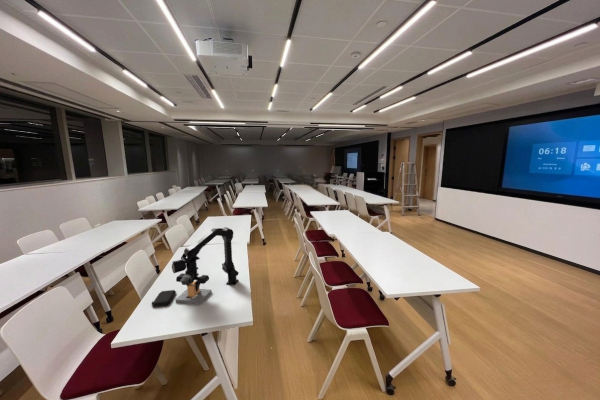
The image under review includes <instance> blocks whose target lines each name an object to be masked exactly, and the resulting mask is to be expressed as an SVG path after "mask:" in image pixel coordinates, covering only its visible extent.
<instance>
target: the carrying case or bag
mask: <svg viewBox="0 0 600 400" xmlns="http://www.w3.org/2000/svg"><path fill="white" fill-rule="evenodd" d="M176 293H177V291H176V290H175V289H170V290H162V291H160V292H159V293H158V295H157V296H156V297H155V299H154V300H153V301H151V306H152V307H154V308H159V307H166V306H169V305H170V304H171V302H172V301H173V299H174V297H175V295H176Z"/></svg>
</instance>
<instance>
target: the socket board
mask: <svg viewBox="0 0 600 400" xmlns="http://www.w3.org/2000/svg"><path fill="white" fill-rule="evenodd" d="M199 289H200V292H199V293H198V294H197V295H196V296H195V297H188V289H185V290H184V291H183V292H181V294H180V295H179V296H178V297H177V298H175V303H176V304H188V305H197V306H201V304H203V302H205V301H206V300H207V298H208V297H209V296H210V295H211V294H212V289H205V288H199Z"/></svg>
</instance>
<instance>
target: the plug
mask: <svg viewBox="0 0 600 400" xmlns="http://www.w3.org/2000/svg"><path fill="white" fill-rule="evenodd" d="M195 282H196V280H194V281H193V283H190V284H189V285H188V286H187V285H186V288H187V289H188V297H189V298H196V297H197V296H198V295H199V294H198V293H199V292H200V289H201V288H199V289H198V291H197V292H196V285H195V284H194V283H195ZM187 289H186V290H187Z"/></svg>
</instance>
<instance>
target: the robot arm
mask: <svg viewBox="0 0 600 400" xmlns="http://www.w3.org/2000/svg"><path fill="white" fill-rule="evenodd" d="M216 236H218V237H219V236H220V237H221V239H222V240H223V246H224V247H223V248H224V262H223V263H221V266H222V267H221V269H222V271H223V272H224V273H225V274H227V281H226V284H225V285H232V286H235V285H237V283H238V282H239V279H237V276H239V271H238V270H236V268H235V264H234V262H233V253H232V252H233V251H232V250H233V249H232V240H233V238H234V230H233V229H232V228H229V227H226V226H225V227H222V228H221V227H218V228H212V229H210V231H208V232H207V233H206V234H205V235H204V236H202V237H201V238H200V239H199V240H198V241H197V242H195V243H193V244H190V245H189V246H187V247H185V248H184V251H183V254H182V255H181V257H180V259H178V260H173V261H172V264H171V270H172V273H173V274H177V273H180V272H184V271H185V272H184V273H180V274H179V275H177V276H176V279H175V281H176V282H177V283H181V285H184V286H186V287H187V286H188V285H189V284H190V283H193V281H196V282H195V283H194V284H195V285H196V292H197V291H198V289H200V287H201V286H200V285H202V284H203V285H205V284H206V283H207V282H208V281H209V280H210V277H209V274H208V275H207V274H202V275H201V276H199V275H200V274H199V273H198V270H199V267H198V265H197V261H198V260H200V259H201V258H200V257H199V256H198V255H199V253H200V252H201V250H202V249H203V248H204V247H205V246H206V245H207V244H208V243H210V242H211V241H213V239H214V238H215V237H216Z"/></svg>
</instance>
